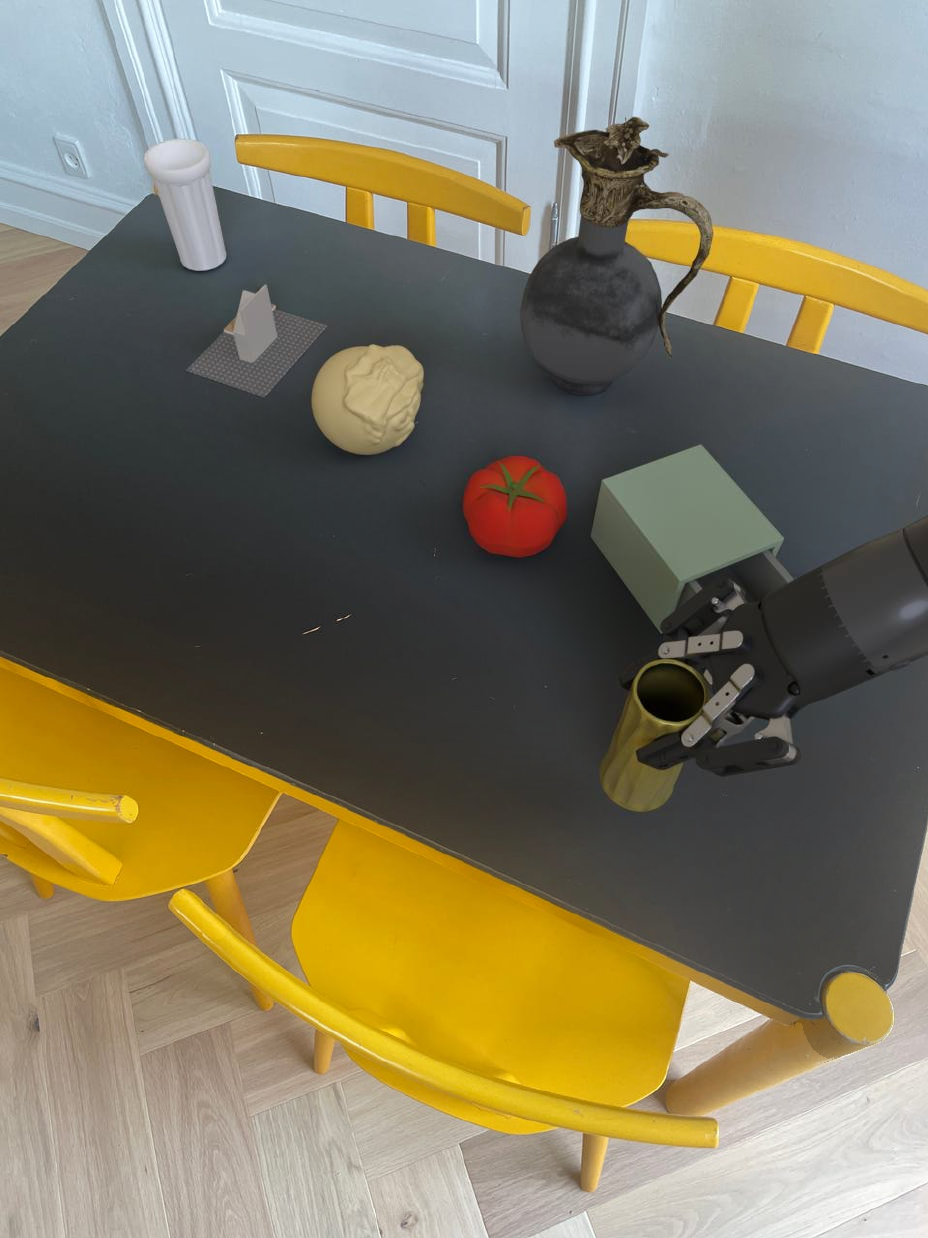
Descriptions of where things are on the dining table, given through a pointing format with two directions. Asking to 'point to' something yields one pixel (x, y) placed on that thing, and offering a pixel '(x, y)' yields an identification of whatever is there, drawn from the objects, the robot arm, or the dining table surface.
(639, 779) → the vase
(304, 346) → the architectural model
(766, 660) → the robot arm
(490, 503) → the tomato
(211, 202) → the cup
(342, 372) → the sculpture
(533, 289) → the pitcher
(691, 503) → the cabinet
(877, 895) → the dining table surface
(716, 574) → the drawer
